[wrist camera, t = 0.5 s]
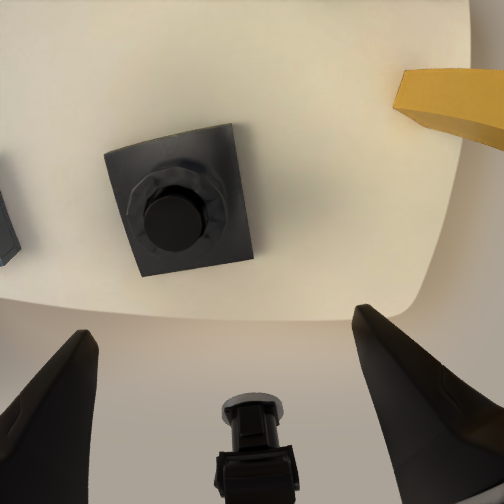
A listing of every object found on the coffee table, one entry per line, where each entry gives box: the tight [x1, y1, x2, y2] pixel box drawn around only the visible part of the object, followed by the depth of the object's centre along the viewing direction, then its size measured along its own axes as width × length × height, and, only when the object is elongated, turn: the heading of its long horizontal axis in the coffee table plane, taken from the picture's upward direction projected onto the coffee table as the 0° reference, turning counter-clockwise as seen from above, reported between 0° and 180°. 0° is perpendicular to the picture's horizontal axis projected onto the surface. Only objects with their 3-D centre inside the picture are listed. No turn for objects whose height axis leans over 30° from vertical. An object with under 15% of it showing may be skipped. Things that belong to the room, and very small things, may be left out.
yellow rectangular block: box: [393, 68, 504, 151], centre depth 13 cm, size 4×4×12 cm
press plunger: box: [144, 189, 204, 252], centre depth 18 cm, size 4×4×2 cm
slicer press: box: [104, 123, 254, 277], centre depth 20 cm, size 10×9×3 cm
